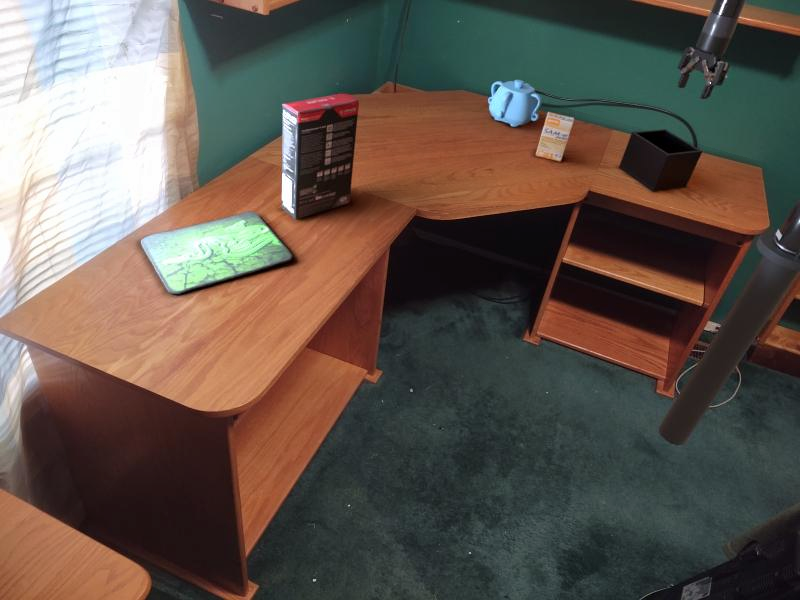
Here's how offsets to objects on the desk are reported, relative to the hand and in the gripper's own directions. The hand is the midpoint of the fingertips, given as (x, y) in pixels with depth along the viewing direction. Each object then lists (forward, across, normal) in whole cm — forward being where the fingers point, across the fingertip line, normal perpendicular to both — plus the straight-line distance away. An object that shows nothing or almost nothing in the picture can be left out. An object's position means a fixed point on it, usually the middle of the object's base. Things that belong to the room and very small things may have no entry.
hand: (692, 92), depth 168 cm
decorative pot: (+26, +48, +24) cm, 60 cm away
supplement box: (+27, +20, +27) cm, 43 cm away
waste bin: (+27, +1, +1) cm, 27 cm away
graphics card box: (+27, +8, +107) cm, 110 cm away
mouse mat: (+27, -5, +134) cm, 137 cm away
